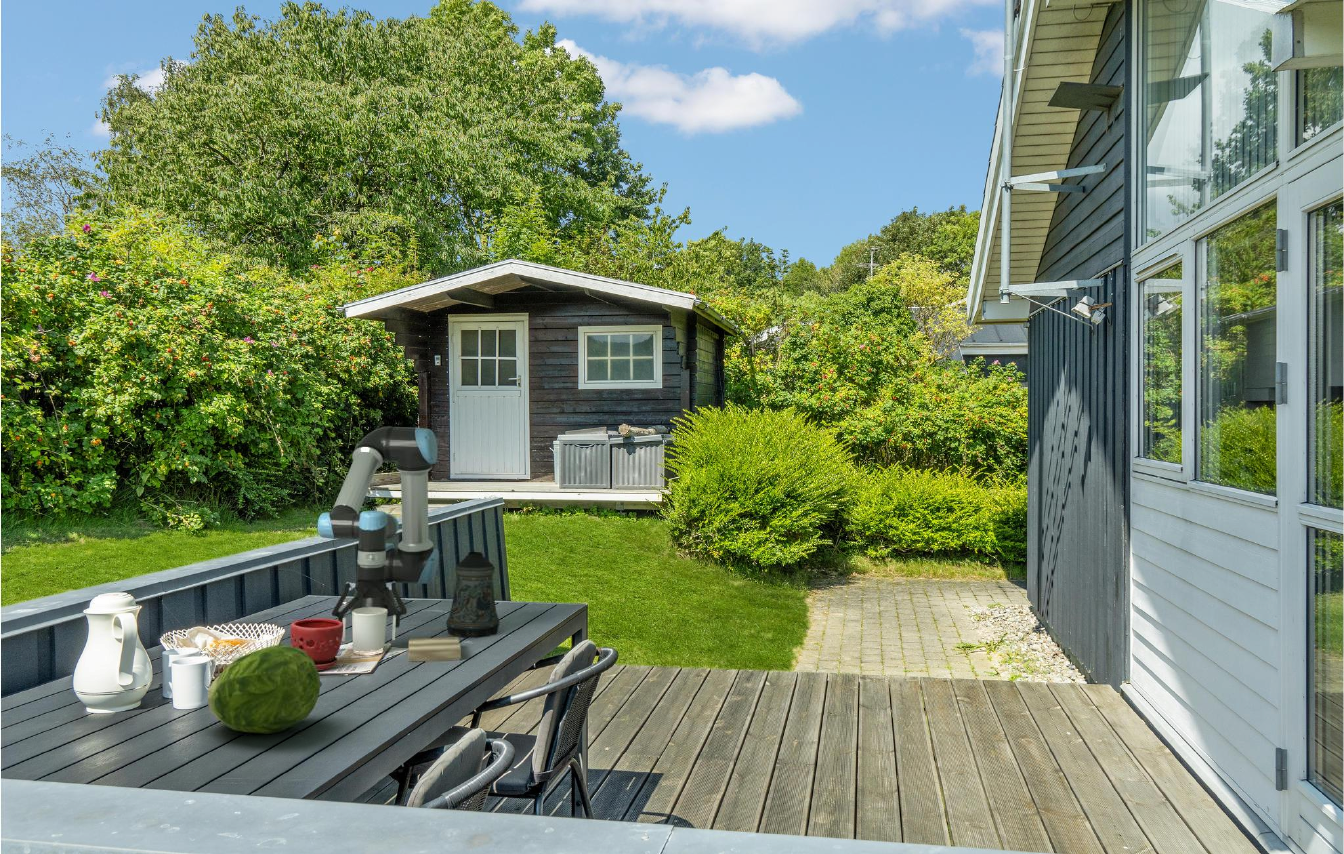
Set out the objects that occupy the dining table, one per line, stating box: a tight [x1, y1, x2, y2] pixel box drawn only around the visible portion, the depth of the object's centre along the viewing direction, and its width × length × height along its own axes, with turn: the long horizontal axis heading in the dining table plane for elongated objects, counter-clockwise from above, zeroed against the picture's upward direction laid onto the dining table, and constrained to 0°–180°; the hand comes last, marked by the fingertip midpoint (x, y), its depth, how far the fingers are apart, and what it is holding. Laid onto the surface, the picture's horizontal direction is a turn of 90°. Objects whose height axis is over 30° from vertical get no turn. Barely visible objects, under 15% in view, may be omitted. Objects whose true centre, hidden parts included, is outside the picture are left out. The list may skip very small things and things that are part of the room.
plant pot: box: [290, 618, 343, 672], centre depth 244 cm, size 13×13×12 cm
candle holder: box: [351, 607, 388, 651], centre depth 260 cm, size 10×10×12 cm
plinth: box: [407, 636, 462, 663], centre depth 261 cm, size 14×14×3 cm
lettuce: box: [207, 644, 321, 735], centre depth 196 cm, size 19×23×18 cm
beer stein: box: [446, 551, 501, 639], centre depth 290 cm, size 16×19×25 cm
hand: (368, 639), depth 260 cm, fingers open, 13 cm apart
